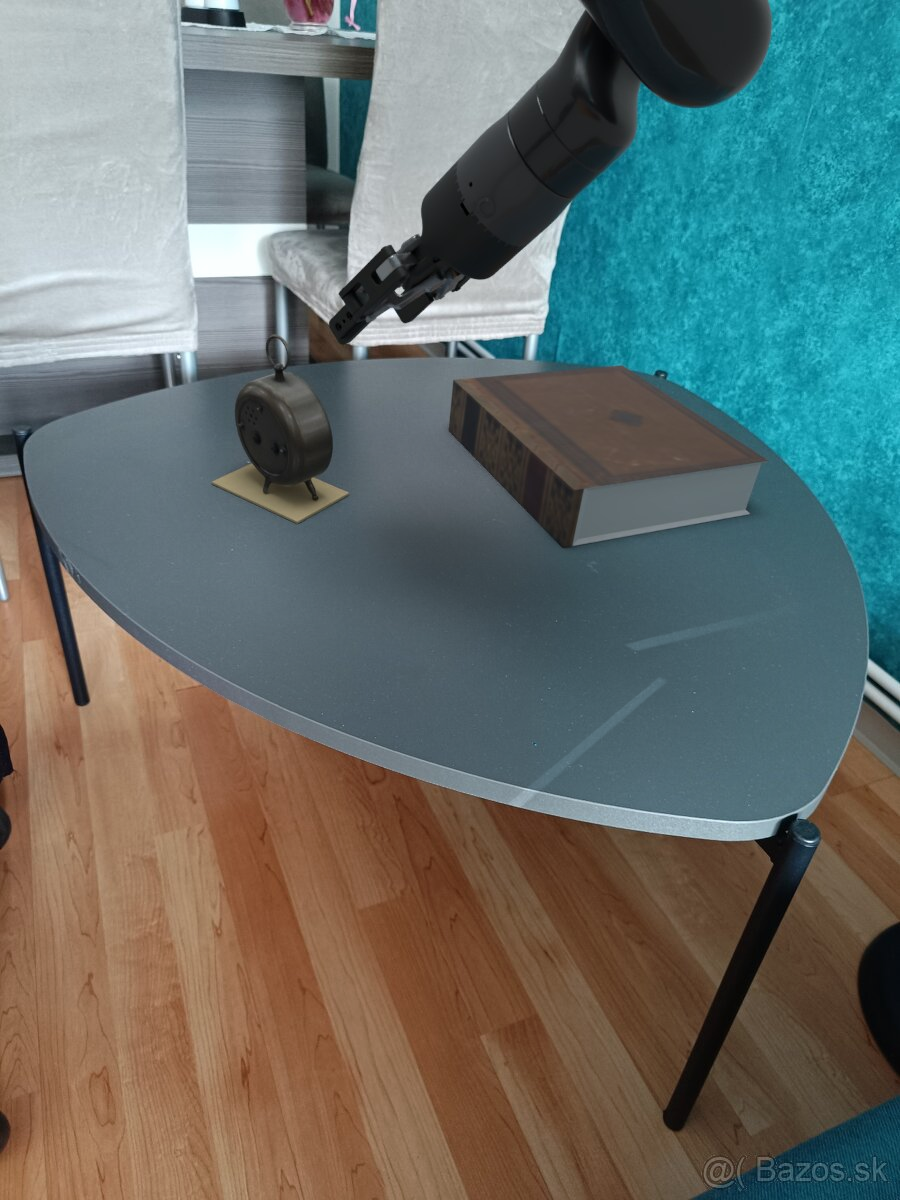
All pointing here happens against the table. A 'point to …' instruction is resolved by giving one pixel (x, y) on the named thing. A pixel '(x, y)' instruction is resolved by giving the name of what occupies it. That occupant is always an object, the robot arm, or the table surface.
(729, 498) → the book
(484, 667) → the table surface
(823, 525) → the table surface
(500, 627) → the table surface
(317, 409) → the alarm clock
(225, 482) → the mat
